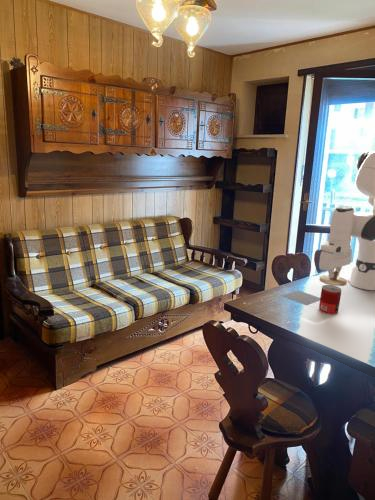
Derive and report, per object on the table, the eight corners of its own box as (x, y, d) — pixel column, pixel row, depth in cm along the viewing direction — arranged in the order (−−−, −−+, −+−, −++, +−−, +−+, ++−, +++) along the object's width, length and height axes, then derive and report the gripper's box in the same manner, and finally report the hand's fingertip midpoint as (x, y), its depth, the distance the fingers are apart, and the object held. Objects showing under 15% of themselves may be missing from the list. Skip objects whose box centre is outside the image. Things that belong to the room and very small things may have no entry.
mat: (298, 290, 193) (298, 290, 193) (323, 299, 183) (323, 299, 183) (280, 296, 184) (280, 295, 184) (306, 306, 174) (306, 305, 174)
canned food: (339, 316, 165) (343, 291, 162) (319, 313, 166) (323, 289, 164) (336, 309, 172) (340, 286, 169) (317, 307, 174) (321, 283, 171)
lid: (327, 276, 173) (329, 266, 172) (351, 283, 165) (353, 273, 164) (314, 280, 166) (315, 270, 165) (338, 287, 158) (339, 277, 157)
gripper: (344, 241, 171) (339, 271, 174) (318, 246, 158) (313, 278, 161) (357, 244, 166) (352, 275, 169) (332, 249, 153) (327, 282, 156)
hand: (333, 276), depth 165 cm, fingers closed on lid, 3 cm apart
